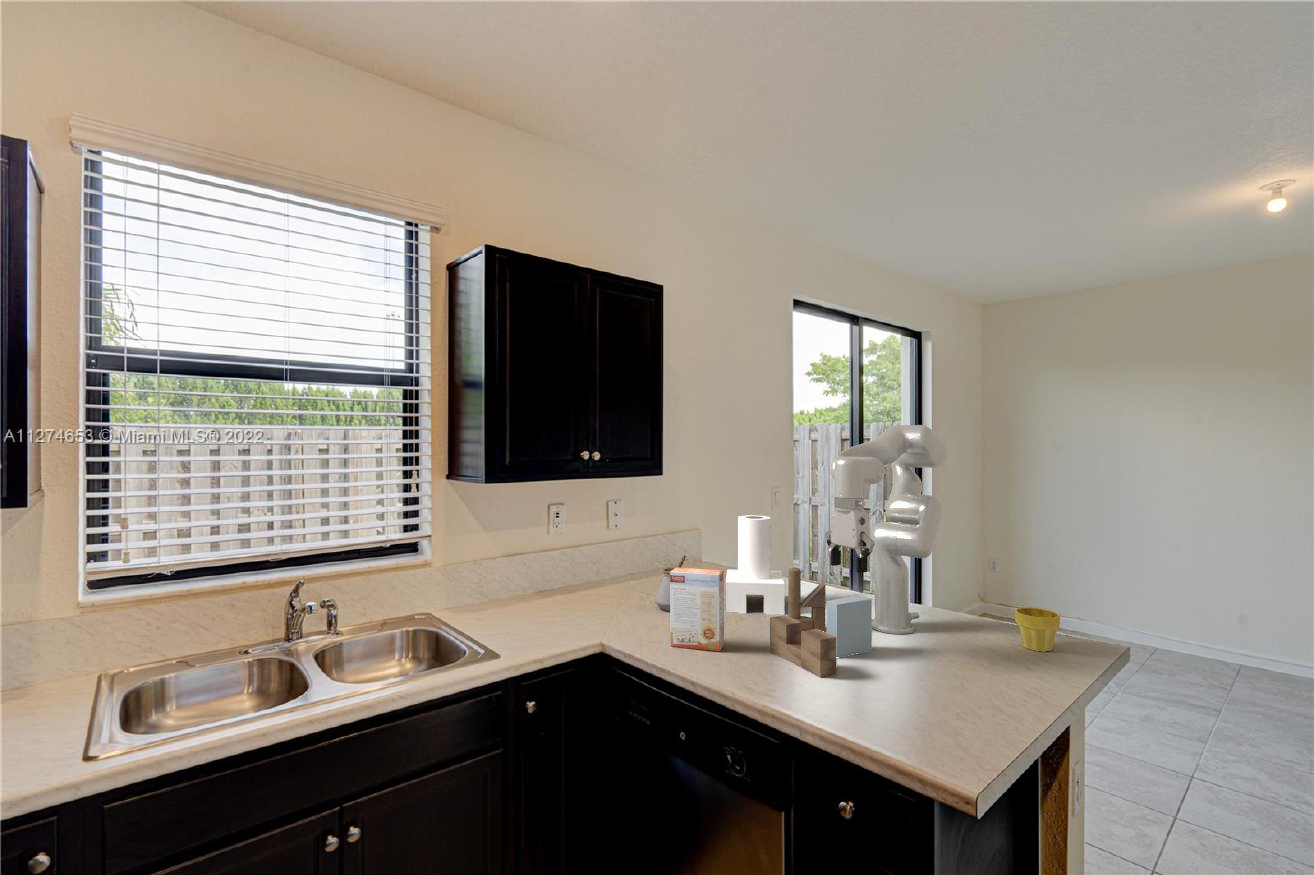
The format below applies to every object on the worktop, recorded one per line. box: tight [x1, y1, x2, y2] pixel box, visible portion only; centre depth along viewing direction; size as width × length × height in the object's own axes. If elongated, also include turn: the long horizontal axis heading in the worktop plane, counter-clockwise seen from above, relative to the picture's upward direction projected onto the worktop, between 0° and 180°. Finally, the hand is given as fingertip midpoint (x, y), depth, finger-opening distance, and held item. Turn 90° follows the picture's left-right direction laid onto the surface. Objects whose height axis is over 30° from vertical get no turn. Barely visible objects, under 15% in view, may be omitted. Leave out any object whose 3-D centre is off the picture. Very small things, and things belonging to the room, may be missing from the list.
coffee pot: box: [654, 554, 689, 612], centre depth 210 cm, size 21×12×15 cm, turn 160°
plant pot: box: [1014, 606, 1061, 653], centre depth 167 cm, size 10×10×10 cm
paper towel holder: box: [725, 514, 785, 615], centre depth 208 cm, size 19×19×30 cm
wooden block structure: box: [787, 567, 826, 632], centre depth 183 cm, size 4×11×18 cm, turn 86°
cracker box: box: [669, 567, 725, 652], centre depth 169 cm, size 14×6×21 cm, turn 71°
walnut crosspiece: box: [769, 614, 837, 678], centre depth 157 cm, size 5×20×9 cm, turn 26°
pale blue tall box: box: [826, 595, 873, 658], centre depth 164 cm, size 12×4×14 cm, turn 116°
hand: (848, 568), depth 163 cm, fingers open, 9 cm apart
